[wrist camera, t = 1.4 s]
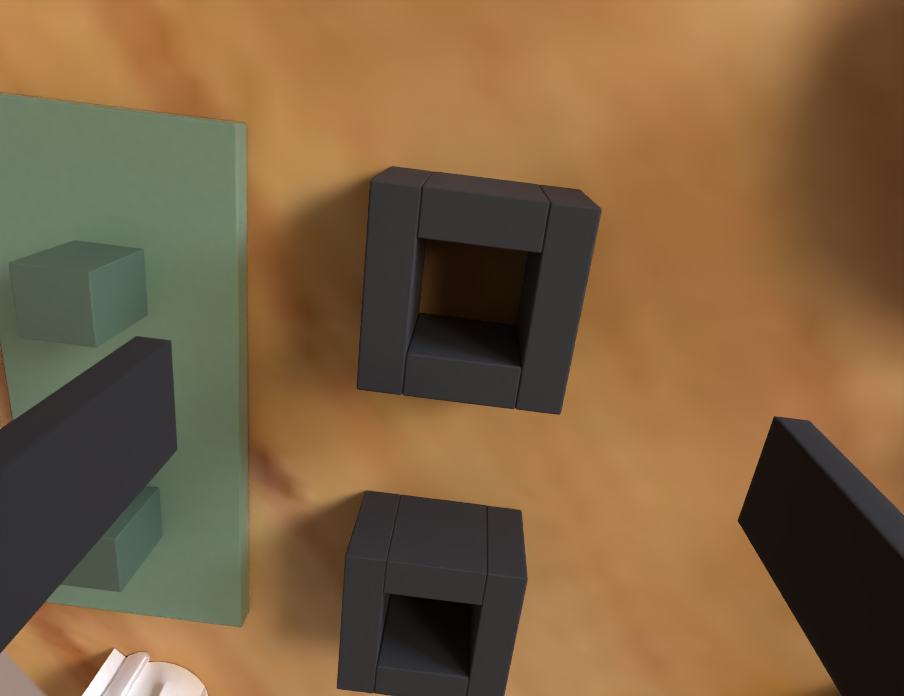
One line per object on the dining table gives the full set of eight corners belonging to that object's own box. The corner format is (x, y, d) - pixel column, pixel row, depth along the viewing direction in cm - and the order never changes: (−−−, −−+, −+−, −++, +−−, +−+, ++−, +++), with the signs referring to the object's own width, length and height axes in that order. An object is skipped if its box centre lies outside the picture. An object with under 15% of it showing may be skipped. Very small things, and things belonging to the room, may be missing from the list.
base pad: (249, 611, 35) (211, 692, 30) (55, 586, 35) (-13, 663, 30) (247, 122, 26) (192, 127, 21) (-19, 89, 26) (-135, 86, 21)
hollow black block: (499, 629, 35) (501, 710, 30) (356, 611, 35) (336, 689, 30) (521, 509, 32) (528, 579, 27) (365, 489, 32) (345, 555, 27)
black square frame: (548, 365, 29) (560, 415, 24) (376, 344, 29) (356, 390, 24) (581, 189, 26) (602, 208, 21) (390, 165, 26) (369, 179, 21)
